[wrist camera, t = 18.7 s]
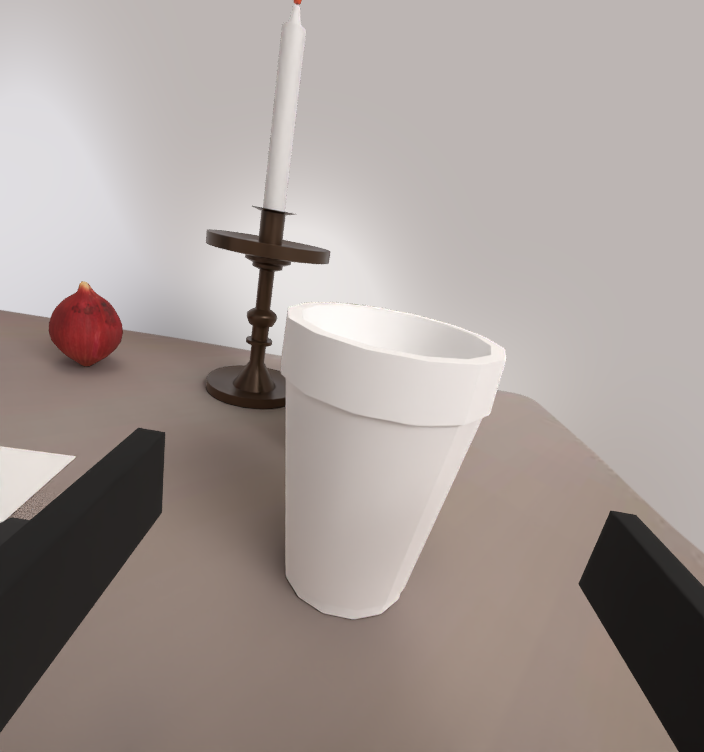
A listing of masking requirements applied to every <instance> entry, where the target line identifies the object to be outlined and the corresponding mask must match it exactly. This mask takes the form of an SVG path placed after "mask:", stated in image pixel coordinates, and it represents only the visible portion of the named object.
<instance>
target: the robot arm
mask: <svg viewBox="0 0 704 752" xmlns="http://www.w3.org/2000/svg"><path fill="white" fill-rule="evenodd" d="M164 447H165V432H160V431H154V430H148V429H143V428H138V429H136V430H135V431H134V432H133V433H132V434H131V435H129V436H128V437H127V438H126V439H125V440H124V441H122V442H121V443H120V444H119V445H118V446H117V447H115V448H114V449H113V450H112V451H111V452H110V453H108V454H107V455H106V456H105V457H104V458H103V459H101V460H100V461H99V462H98V463H97V464H96V465H94V466H93V467H92V468H91V469H90V470H88V471H87V472H86V473H85V474H84V475H83V476H81V477H80V478H79V479H78V480H77V481H76V482H74V483H73V484H72V485H71V486H70V487H69V488H67V489H66V490H65V491H64V492H63V493H62V494H60V495H59V496H58V497H57V498H56V499H55V500H53V501H52V502H51V503H50V504H49V505H48V506H46V507H45V508H44V509H43V510H42V511H40V512H39V513H38V514H37V515H36V516H35V517H33V518H32V519H31V520H24V519H18V518H12V517H11V518H9V519H7V520H5V521H3V522H1V523H0V732H1V731H2V730H3V728H4V727H5V725H6V724H7V723H8V721H9V720H10V719H11V717H12V716H13V715H14V713H15V712H16V710H17V709H18V708H19V706H20V705H21V704H22V702H23V701H24V700H25V698H26V697H27V696H28V694H29V693H30V691H31V690H32V689H33V687H34V686H35V685H36V683H37V682H38V681H39V679H40V678H41V676H42V675H43V674H44V672H45V671H46V670H47V668H48V667H49V666H50V664H51V663H52V661H53V660H54V659H55V657H56V656H57V655H58V653H59V652H60V651H61V649H62V648H63V646H64V645H65V644H66V642H67V641H68V640H69V638H70V637H71V636H72V634H73V633H74V631H75V630H76V629H77V627H78V626H79V625H80V623H81V622H82V621H83V619H84V618H85V616H86V615H87V614H88V612H89V611H90V610H91V608H92V607H93V606H94V604H95V603H96V602H97V600H98V599H99V597H100V596H101V595H102V593H103V592H104V591H105V589H106V588H107V587H108V585H109V584H110V582H111V581H112V580H113V578H114V577H115V576H116V574H117V573H118V572H119V570H120V569H121V567H122V566H123V565H124V563H125V562H126V561H127V559H128V558H129V557H130V555H131V554H132V552H133V551H134V550H135V548H136V547H137V546H138V544H139V543H140V542H141V540H142V539H143V537H144V536H145V535H146V533H147V532H148V531H149V529H150V528H151V527H152V525H153V524H154V522H155V521H156V520H157V518H158V517H159V516H160V514H161V513H162V494H163V471H164ZM579 586H580V587H581V589H582V591H583V592H584V594H585V596H586V597H587V599H588V601H589V602H590V604H591V606H592V607H593V609H594V611H595V612H596V614H597V616H598V617H599V619H600V621H601V623H602V624H603V626H604V628H605V629H606V631H607V633H608V634H609V636H610V638H611V639H612V641H613V643H614V644H615V646H616V648H617V649H618V651H619V653H620V654H621V656H622V658H623V659H624V661H625V663H626V664H627V666H628V668H629V669H630V671H631V673H632V674H633V676H634V678H635V679H636V681H637V683H638V684H639V686H640V688H641V689H642V691H643V693H644V694H645V696H646V698H647V699H648V701H649V703H650V704H651V706H652V708H653V709H654V711H655V713H656V714H657V716H658V718H659V720H660V721H661V723H662V725H663V726H664V728H665V730H666V731H667V733H668V735H669V736H670V738H671V740H672V741H673V743H674V745H675V746H676V748H677V750H678V751H679V752H704V586H703V585H702V584H701V583H700V582H699V581H698V580H697V579H696V578H695V577H694V576H693V575H692V574H691V573H690V572H689V571H688V570H687V568H686V567H685V566H684V565H683V564H682V563H681V562H680V561H679V560H678V559H677V558H676V557H675V556H674V555H673V554H672V553H671V552H670V550H669V549H668V548H667V547H666V546H665V545H664V544H663V543H662V542H661V541H660V540H659V539H658V538H657V537H656V536H655V535H654V534H653V533H652V531H651V530H650V529H649V528H648V527H647V526H646V525H645V524H644V523H643V522H642V521H641V520H640V519H639V518H638V517H637V516H636V515H633V514H627V513H621V512H616V511H610V513H609V516H608V518H607V520H606V522H605V525H604V527H603V529H602V531H601V534H600V536H599V538H598V541H597V543H596V545H595V547H594V550H593V552H592V554H591V557H590V559H589V561H588V563H587V566H586V568H585V570H584V573H583V575H582V577H581V579H580V582H579Z"/></svg>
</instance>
